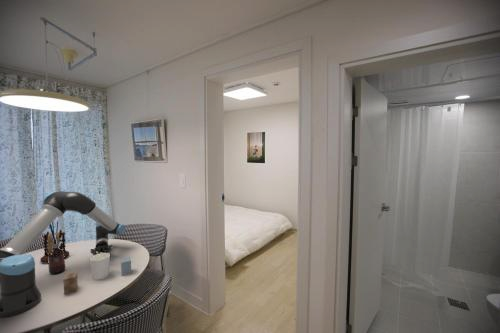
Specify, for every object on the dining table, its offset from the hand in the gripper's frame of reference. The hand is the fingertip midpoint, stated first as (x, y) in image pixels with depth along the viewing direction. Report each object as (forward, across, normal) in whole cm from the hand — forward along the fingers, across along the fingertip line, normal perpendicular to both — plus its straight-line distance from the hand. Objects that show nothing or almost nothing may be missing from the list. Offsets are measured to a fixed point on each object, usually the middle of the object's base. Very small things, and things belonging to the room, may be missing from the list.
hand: (101, 258), depth 138 cm
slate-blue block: (+14, -13, -6) cm, 20 cm away
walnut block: (+18, +13, -6) cm, 23 cm away
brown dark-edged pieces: (-32, +27, -7) cm, 42 cm away
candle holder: (+10, 0, -7) cm, 12 cm away
